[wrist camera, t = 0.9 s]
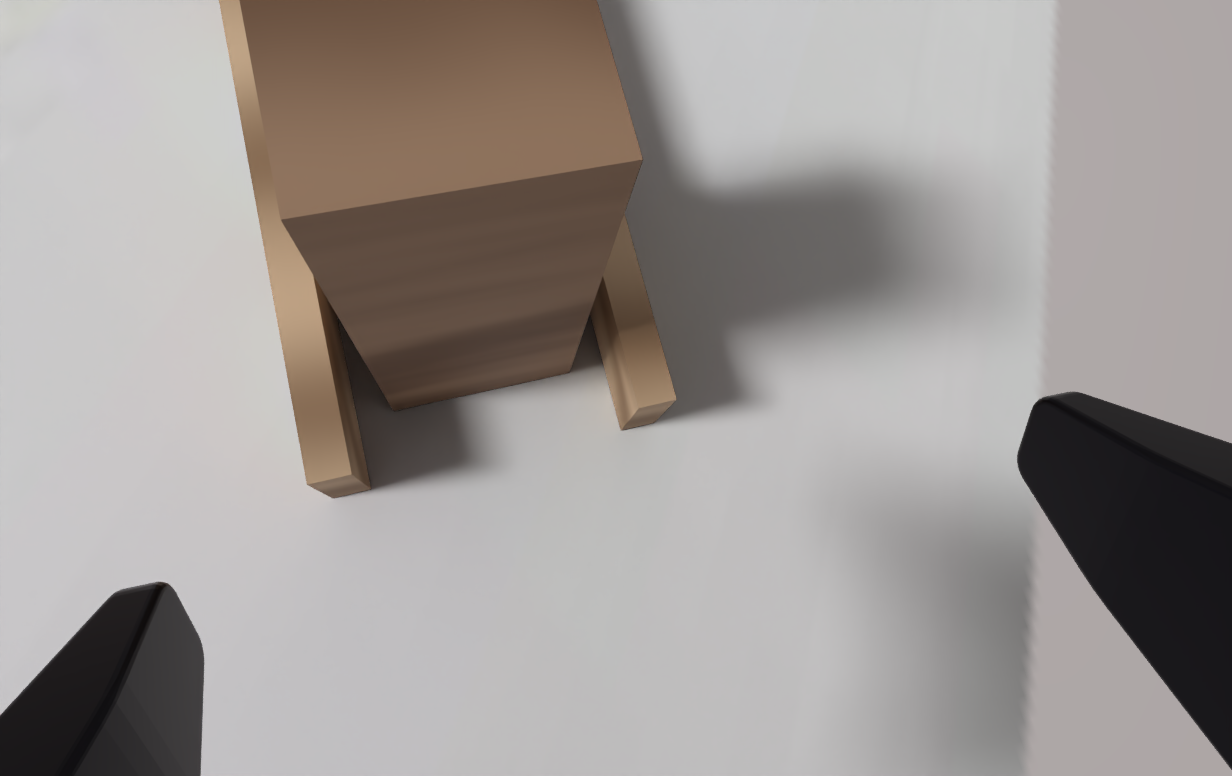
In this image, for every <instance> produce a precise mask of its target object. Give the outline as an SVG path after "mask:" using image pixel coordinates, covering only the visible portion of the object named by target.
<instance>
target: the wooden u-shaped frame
mask: <svg viewBox="0 0 1232 776" xmlns="http://www.w3.org/2000/svg"><path fill="white" fill-rule="evenodd" d="M219 3H220V8H221V14H222V19H223V25H224V30H225V36H226V41H227V47H228V52H229V58H230V63H231V69H232V74H233V80H234V85H235V91H236V96H237V102H238V107H239V113H240V118H241V124H242V129H243V135H244V140H245V146H246V151H247V157H248V162H249V168H250V173H251V179H252V184H253V190H254V195H255V201H256V206H257V212H258V217H259V223H260V228H261V234H262V239H263V245H264V250H265V256H266V261H267V267H268V272H269V278H270V283H271V289H272V294H273V300H274V305H275V311H276V316H277V322H278V327H279V333H280V338H281V344H282V349H283V355H284V360H285V366H286V371H287V377H288V382H289V388H290V393H291V399H292V404H293V410H294V415H295V421H296V426H297V432H298V437H299V443H300V448H301V454H302V459H303V465H304V470H305V476H306V481H307V485H309V486H311V487H312V488H314V489H316V490H318V491H320V492H322V493H324V494H326V495H328V496H330V497H331V498H336V497H340V496H345V495H349V494H353V493H357V492H362V491H366V490H370V489H371V486H370V481H369V476H368V471H367V466H366V461H365V455H364V450H363V445H362V440H361V435H360V430H359V425H358V420H357V415H356V410H355V405H354V400H353V395H352V390H351V385H350V380H349V375H348V370H347V364H346V359H345V354H344V349H343V344H342V339H341V334H340V329H339V324H338V319H337V314H336V313H335V311H334V309H333V308H332V306H331V304H330V303H329V301H328V299H327V298H326V296H325V294H324V292H323V291H322V289H321V287H320V286H319V284H318V282H317V281H316V279H315V277H314V275H313V274H312V272H311V270H310V269H309V267H308V265H307V264H306V262H305V260H304V259H303V257H302V255H301V253H300V252H299V250H298V248H297V247H296V245H295V243H294V242H293V240H292V238H291V237H290V235H289V233H288V231H287V230H286V228H285V226H284V225H283V223H282V221H281V219H280V214H279V209H278V203H277V198H276V193H275V187H274V182H273V177H272V171H271V166H270V161H269V155H268V150H267V145H266V139H265V134H264V129H263V123H262V118H261V113H260V107H259V102H258V97H257V91H256V86H255V81H254V75H253V70H252V65H251V59H250V54H249V49H248V43H247V38H246V33H245V27H244V22H243V17H242V11H241V6H240V1H239V0H219ZM590 316H591V319H592V323H593V327H594V331H595V335H596V338H597V342H598V346H599V350H600V353H601V357H602V361H603V365H604V369H605V372H606V376H607V380H608V384H609V388H610V391H611V395H612V399H613V403H614V406H615V410H616V414H617V418H618V422H619V425H620V429H621V430H625V429H630V428H634V427H638V426H642V425H647V424H651V423H654V422H655V421H656V420H657V419H658V418H659V417H660V416H661V415H662V414H663V413H664V412H665V411H666V410H667V409H668V408H669V407H670V406H671V405H672V404H673V403H674V402H675V401H676V400H677V399H676V395H675V391H674V388H673V384H672V381H671V377H670V374H669V370H668V366H667V363H666V359H665V356H664V352H663V349H662V345H661V342H660V338H659V334H658V331H657V327H656V324H655V320H654V317H653V313H652V310H651V306H650V302H649V299H648V295H647V292H646V288H645V285H644V281H643V278H642V274H641V270H640V267H639V263H638V260H637V256H636V253H635V249H634V246H633V242H632V238H631V235H630V231H629V228H628V224H627V221H626V217H625V214H624V216H623V219H622V222H621V225H620V227H619V230H618V233H617V236H616V239H615V242H614V245H613V248H612V251H611V254H610V256H609V259H608V262H607V265H606V268H605V271H604V274H603V277H602V280H601V282H600V285H599V288H598V291H597V294H596V297H595V300H594V303H593V306H592V309H591V311H590Z"/></svg>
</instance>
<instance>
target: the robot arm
mask: <svg viewBox="0 0 1232 776" xmlns="http://www.w3.org/2000/svg"><path fill="white" fill-rule="evenodd" d="M1017 463H1018V468H1019V471H1020V474H1021V476H1022V478H1023V479H1024V481H1025V483H1026V484H1027V486H1028V487H1029V489H1030V490H1031V492H1032V494H1033V495H1034V497H1035V498H1036V500H1037V502H1038V503H1039V505H1040V506H1041V508H1042V510H1043V511H1044V513H1045V514H1046V516H1047V517H1048V519H1049V521H1050V522H1051V524H1052V525H1053V527H1054V529H1055V530H1056V532H1057V533H1058V535H1059V537H1060V538H1061V540H1062V541H1063V543H1064V545H1065V546H1066V548H1067V549H1068V551H1069V553H1070V554H1071V556H1072V557H1073V559H1074V560H1075V562H1076V563H1077V565H1078V567H1079V568H1080V570H1081V572H1082V573H1083V575H1084V576H1085V577H1086V579H1087V581H1088V582H1089V584H1090V585H1091V587H1092V588H1093V590H1094V591H1095V592H1096V594H1097V595H1098V596H1099V598H1100V599H1101V600H1102V602H1103V603H1104V605H1105V606H1106V607H1107V609H1108V610H1109V611H1110V612H1111V614H1112V615H1113V616H1114V618H1115V619H1116V620H1117V621H1118V623H1119V624H1120V625H1121V627H1122V628H1123V629H1124V631H1125V632H1126V633H1127V635H1129V637H1130V638H1131V640H1132V641H1133V642H1134V644H1135V645H1136V646H1137V648H1138V649H1139V650H1140V651H1141V653H1142V654H1143V655H1144V657H1145V658H1146V659H1147V661H1148V662H1149V663H1150V664H1151V666H1152V667H1153V668H1154V670H1155V671H1156V672H1157V673H1158V675H1159V676H1160V677H1161V679H1162V680H1163V681H1164V683H1165V684H1166V685H1167V686H1168V688H1169V689H1170V690H1171V692H1172V693H1173V694H1174V696H1175V697H1176V698H1177V699H1178V701H1179V702H1180V703H1181V705H1182V706H1183V707H1184V709H1185V710H1186V711H1187V712H1188V714H1189V715H1190V716H1191V718H1192V719H1193V720H1194V722H1195V723H1196V724H1197V725H1198V727H1199V728H1200V729H1201V731H1202V732H1203V733H1204V735H1205V736H1206V737H1207V738H1208V740H1209V741H1210V742H1211V743H1212V745H1213V746H1214V747H1215V749H1216V750H1217V751H1218V752H1219V754H1220V755H1221V756H1222V758H1223V759H1224V760H1225V762H1226V763H1227V764H1228V765H1229V767H1230V768H1231V770H1232V443H1229V442H1226V441H1223V440H1220V439H1217V438H1214V437H1211V436H1208V435H1204V434H1202V433H1199V432H1195V431H1193V430H1190V429H1187V428H1184V427H1181V426H1178V425H1175V424H1172V423H1169V422H1166V421H1163V420H1160V419H1157V418H1154V417H1151V416H1148V415H1145V414H1142V413H1139V412H1136V411H1134V410H1131V409H1128V408H1125V407H1121V406H1119V405H1116V404H1113V403H1110V402H1107V401H1104V400H1101V399H1098V398H1095V397H1092V396H1089V395H1086V394H1083V393H1079V392H1066V393H1061V394H1056V395H1051V396H1046V397H1043V398H1041V399H1039V400H1038V401H1037V402H1036V403H1035V404H1034V406H1033V408H1032V410H1031V413H1030V416H1029V419H1028V422H1027V426H1026V429H1025V432H1024V435H1023V438H1022V441H1021V444H1020V447H1019V450H1018V455H1017ZM203 685H204V653H203V647H202V643H201V640H200V638H199V635H198V633H197V632H196V630H195V628H194V626H193V624H192V622H191V620H190V618H189V616H188V615H187V613H186V611H185V609H184V607H183V605H182V603H181V601H180V599H179V597H178V596H177V594H176V592H175V590H174V589H173V588H172V587H171V586H170V585H169V584H168V583H165V582H155V583H150V584H145V585H140V586H135V587H131V588H126V589H122V590H120V591H117V592H116V593H114V594H113V595H112V596H110V597H109V598H108V599H107V600H106V601H105V603H104V604H103V605H102V606H101V607H100V608H99V609H98V610H97V611H96V612H95V613H94V614H93V615H92V617H91V618H90V619H89V620H88V621H87V622H86V623H85V624H84V625H83V626H82V627H81V628H80V630H79V631H78V632H77V633H76V634H75V635H74V636H73V637H72V638H71V639H70V640H69V641H68V643H67V644H66V645H65V646H64V647H63V648H62V649H61V650H60V651H59V652H58V653H57V654H56V656H55V657H54V658H53V659H52V660H51V661H50V662H49V663H48V664H47V665H46V666H45V667H44V668H43V670H42V671H41V672H40V673H39V674H38V675H37V676H36V677H35V678H34V679H33V680H32V681H31V683H30V684H29V685H28V686H27V687H26V688H25V689H24V690H23V691H22V692H21V693H20V694H19V696H18V697H17V698H16V699H15V700H14V701H13V702H12V703H11V704H10V705H9V706H8V707H7V708H6V710H5V711H4V712H3V713H2V714H1V715H0V776H200V775H201V745H202V715H203Z"/></svg>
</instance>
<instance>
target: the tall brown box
mask: <svg viewBox="0 0 1232 776" xmlns="http://www.w3.org/2000/svg"><path fill="white" fill-rule="evenodd" d="M239 1H240V6H241V11H242V17H243V22H244V27H245V33H246V38H247V43H248V49H249V54H250V59H251V65H252V70H253V75H254V81H255V86H256V91H257V97H258V102H259V107H260V113H261V118H262V123H263V129H264V134H265V139H266V145H267V150H268V155H269V161H270V166H271V171H272V177H273V182H274V187H275V193H276V198H277V203H278V209H279V214H280V219H281V221H282V223H283V225H284V226H285V228H286V230H287V231H288V233H289V235H290V237H291V238H292V240H293V242H294V243H295V245H296V247H297V248H298V250H299V252H300V253H301V255H302V257H303V259H304V260H305V262H306V264H307V265H308V267H309V269H310V270H311V272H312V274H313V275H314V277H315V279H316V281H317V282H318V284H319V286H320V287H321V289H322V291H323V292H324V294H325V296H326V298H327V299H328V301H329V303H330V304H331V306H332V308H333V309H334V311H335V313H336V314H337V316H338V318H339V320H340V321H341V323H342V325H343V326H344V328H345V330H346V331H347V333H348V335H349V336H350V338H351V340H352V342H353V343H354V345H355V347H356V348H357V350H358V352H359V353H360V355H361V357H362V359H363V360H364V362H365V364H366V365H367V367H368V369H369V370H370V372H371V374H372V375H373V377H374V379H375V381H376V382H377V384H378V386H379V387H380V389H381V391H382V392H383V394H384V396H385V398H386V399H387V401H388V403H389V404H390V406H391V408H392V409H393V411H397V410H401V409H406V408H410V407H415V406H420V405H424V404H429V403H433V402H438V401H443V400H447V399H452V398H456V397H461V396H466V395H470V394H475V393H479V392H484V391H489V390H493V389H498V388H502V387H507V386H512V385H516V384H521V383H525V382H530V381H535V380H539V379H544V378H548V377H553V376H558V375H562V374H567V373H569V372H570V369H571V366H572V364H573V361H574V358H575V355H576V352H577V349H578V346H579V343H580V340H581V338H582V335H583V332H584V329H585V326H586V323H587V320H588V317H589V314H590V311H591V309H592V306H593V303H594V300H595V297H596V294H597V291H598V288H599V285H600V282H601V280H602V277H603V274H604V271H605V268H606V265H607V262H608V259H609V256H610V254H611V251H612V248H613V245H614V242H615V239H616V236H617V233H618V230H619V227H620V225H621V222H622V219H623V216H624V213H625V210H626V207H627V204H628V201H629V198H630V196H631V193H632V190H633V187H634V184H635V181H636V178H637V175H638V172H639V170H640V167H641V164H642V161H643V158H642V154H641V151H640V148H639V144H638V141H637V137H636V134H635V130H634V127H633V123H632V120H631V117H630V113H629V110H628V106H627V103H626V99H625V96H624V92H623V89H622V86H621V82H620V79H619V75H618V72H617V68H616V65H615V61H614V58H613V55H612V51H611V48H610V44H609V41H608V37H607V34H606V31H605V27H604V24H603V20H602V17H601V13H600V10H599V6H598V3H597V0H239Z"/></svg>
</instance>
